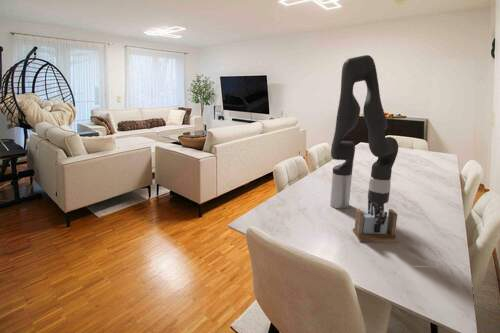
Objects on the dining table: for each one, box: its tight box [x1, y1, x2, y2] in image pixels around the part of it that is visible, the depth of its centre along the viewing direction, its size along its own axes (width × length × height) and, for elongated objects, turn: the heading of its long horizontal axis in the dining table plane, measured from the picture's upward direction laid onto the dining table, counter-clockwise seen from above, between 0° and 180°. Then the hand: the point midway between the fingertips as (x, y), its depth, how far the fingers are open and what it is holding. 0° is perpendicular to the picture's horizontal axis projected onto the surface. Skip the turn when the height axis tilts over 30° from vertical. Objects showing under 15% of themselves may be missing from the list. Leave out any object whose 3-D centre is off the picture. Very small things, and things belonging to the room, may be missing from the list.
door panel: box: [362, 214, 388, 234], centre depth 116 cm, size 2×9×8 cm, turn 87°
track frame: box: [351, 208, 399, 244], centre depth 116 cm, size 10×14×11 cm
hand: (374, 229), depth 117 cm, fingers open, 4 cm apart
